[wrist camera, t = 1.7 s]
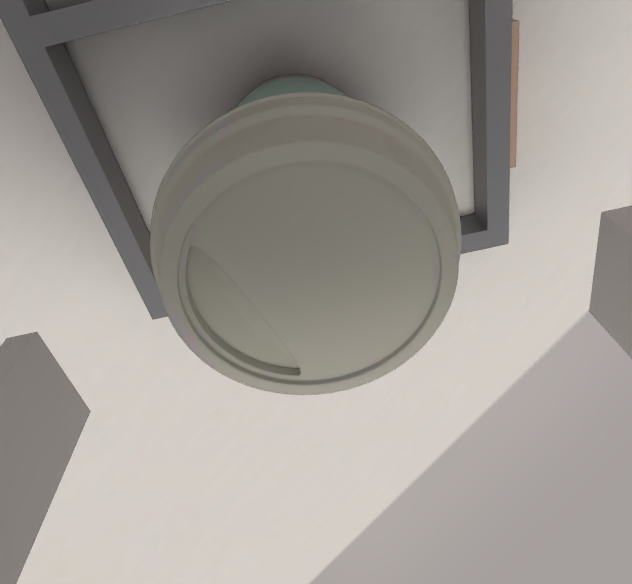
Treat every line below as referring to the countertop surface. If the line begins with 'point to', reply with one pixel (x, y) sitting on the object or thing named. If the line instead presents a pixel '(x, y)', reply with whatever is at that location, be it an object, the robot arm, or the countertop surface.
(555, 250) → the countertop surface
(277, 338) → the coffee cup
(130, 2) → the divided tray
